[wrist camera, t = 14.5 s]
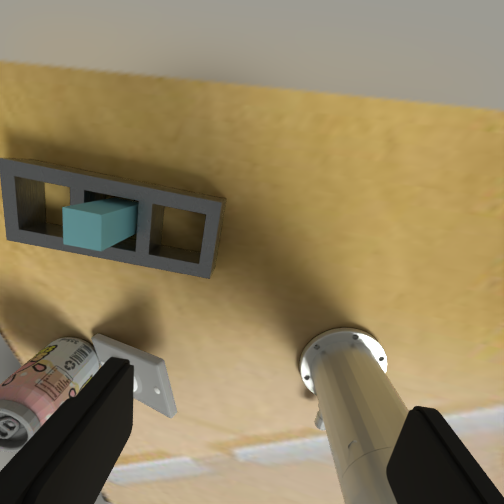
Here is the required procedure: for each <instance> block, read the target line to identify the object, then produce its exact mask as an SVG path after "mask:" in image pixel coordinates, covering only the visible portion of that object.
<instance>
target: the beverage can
mask: <svg viewBox="0 0 504 504" xmlns="http://www.w3.org/2000/svg"><path fill="white" fill-rule="evenodd" d="M99 366H100V363H99V359H98V356H97V353H96V350H95V349H94V348H93V346H92V345H91V344H89V343H88V342H86V341H84V340H82V339H79V338H73V337H64V338H59V339H57V340H55V341H53V342H51V343H50V344H49V345H47V346H46V347H45V348H44V349H42V350H41V351H40V352H39V353H38V354H36V355H35V356H34V357H33V358H32V359H30V360H29V361H28V362H27V363H26V364H24V365H23V366H22V367H21V368H20V369H18V370H17V371H16V372H15V373H14V374H12V375H11V376H10V377H9V378H8V379H6V380H5V381H4V382H3V383H1V384H0V450H1V451H6V452H17V451H19V450H20V449H21V448H22V447H23V446H24V445H25V444H26V443H27V442H28V441H29V439H30V438H31V437H32V436H33V435H34V434H35V433H36V432H37V431H38V430H39V428H40V427H41V426H42V425H43V424H44V423H45V422H46V421H47V420H48V419H49V417H50V416H51V415H52V414H53V413H54V412H55V411H56V410H57V409H58V408H59V406H60V405H61V404H62V403H63V402H64V401H66V400H67V399H68V398H70V397H75V396H76V395H77V394H78V393H79V392H80V391H81V389H82V388H83V387H84V386H85V385H86V384H87V383H88V381H89V380H90V379H91V378H92V377H93V376H94V375H95V374H96V372H97V371H98V369H99Z"/></svg>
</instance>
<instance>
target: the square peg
mask: <svg viewBox="0 0 504 504" xmlns="http://www.w3.org/2000/svg"><path fill="white" fill-rule="evenodd" d="M138 206H139V202H136V201H131V200H126V199H121V198H116V197H114V198H108V199H103V200H98V201H92V202H87V203H82V204H76V205H71V206H66V207H62V211H63V244H66V245H71V246H76V247H81V248H86V249H91V250H97V251H103V250H105V249H107V248H109V247H110V246H112V245H114V244H116V243H118V242H120V241H122V240H124V239H126V238H128V237H130V236H132V235H134V234H136V233H137V222H138Z"/></svg>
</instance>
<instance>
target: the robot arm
mask: <svg viewBox="0 0 504 504" xmlns="http://www.w3.org/2000/svg"><path fill="white" fill-rule="evenodd" d="M299 365H300V373H301V377H302V380H303V382H304V384H305V385H306V387H307V388H308V389H309V390H310V391H311V392H312V393H314V394H315V395H317V398H318V402H319V403H318V407H319V411H318V413H317V416H316V418H315V421H314V422H315V425H316V427H317V428H319V429H320V430H326V433H327V437H328V441H329V445H330V448H331V452H332V456H333V460H334V464H335V468H336V472H337V476H338V479H339V483H340V487H341V491H342V494H343V498H344V502H345V504H504V497H503V496H502V494H501V493H500V492H499V491H498V489H497V488H496V487H495V485H494V484H493V483H492V481H491V480H490V479H489V477H488V476H487V475H486V473H485V472H484V471H483V469H482V468H481V467H480V465H479V464H478V463H477V461H476V460H475V459H474V457H473V456H472V455H471V453H470V452H469V451H468V449H467V448H466V447H465V445H464V444H463V443H462V441H461V440H460V439H459V437H458V436H457V435H456V434H455V432H454V431H453V430H452V428H451V427H450V426H449V424H448V423H447V422H446V420H445V419H444V418H443V416H442V415H441V414H440V413H439V411H438V410H436V409H434V408H427V407H421V406H415V407H414V408H413V410H410V411H409V410H408V409H407V407H406V406H405V404H404V402H403V401H402V399H401V398H400V396H399V394H398V393H397V391H396V390H395V388H394V386H393V385H392V383H391V382H390V380H389V378H388V377H387V375H386V374H385V373H386V370H387V357H386V354H385V351H384V349H383V348H382V346H381V345H380V343H379V342H378V341H377V340H376V339H375V338H374V337H373V336H371V335H370V334H369V333H367V332H364V331H362V330H359V329H354V328H336V329H332V330H329V331H326V332H324V333H322V334H320V335H318V336H317V337H315V338H314V339H312V340H311V341H310V342H309V343H308V344H307V346H306V347H305V349H304V350H303V352H302V355H301V357H300V363H299ZM133 391H134V365H130V361H129V360H128V359H123V358H116V357H110V358H109V359H108V360H107V361H106V362H105V363H104V364H103V366H102V367H101V368H100V369H99V370H98V371H97V372H96V374H95V375H94V376H93V377H92V378H91V379H90V380H89V381H88V383H87V384H86V385H85V386H84V387H83V388H82V389H81V391H80V392H79V393H78V394H77V395H76V396H75V397H70V398H68V399H67V400H66V401H64V402H63V403H62V404H61V405H60V406H59V408H58V409H57V410H56V411H55V412H54V413H53V414H52V415H51V416H50V417H49V419H48V420H47V421H46V422H45V423H44V424H43V425H42V426H41V427H40V428H39V430H38V431H37V432H36V433H35V434H34V435H33V436H32V437H31V438H30V439H29V441H28V442H27V443H26V444H25V445H24V446H23V447H22V448H21V449H20V450H19V451H18V453H17V454H16V455H15V456H14V457H13V458H12V459H11V460H10V462H9V463H8V464H7V465H6V466H5V467H4V468H3V469H2V470H1V472H0V504H94V503H95V501H96V499H97V497H98V495H99V493H100V491H101V490H102V488H103V486H104V484H105V482H106V480H107V478H108V476H109V474H110V473H111V471H112V469H113V467H114V465H115V463H116V461H117V459H118V457H119V456H120V454H121V452H122V450H123V448H124V446H125V444H126V442H127V440H128V438H129V436H130V434H131V430H132V425H133Z"/></svg>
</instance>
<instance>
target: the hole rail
mask: <svg viewBox="0 0 504 504" xmlns="http://www.w3.org/2000/svg"><path fill="white" fill-rule="evenodd" d="M0 177H1V187H2V197H3V207H4V217H5V227H6V237H7V240H9V241H14V242H20V243H25V244H30V245H35V246H41V247H46V248H51V249H56V250H62V251H67V252H72V253H77V254H82V255H88V256H93V257H98V258H103V259H109V260H114V261H119V262H124V263H130V264H135V265H140V266H145V267H150V268H156V269H161V270H166V271H171V272H177V273H182V274H187V275H192V276H198V277H203V278H208V279H210V277H211V275H212V273H213V271H214V268H215V265H216V259H217V253H218V247H219V241H220V235H221V229H222V222H223V216H224V210H225V204H226V199H225V198H220V197H215V196H210V195H205V194H200V193H195V192H190V191H185V190H180V189H175V188H170V187H165V186H160V185H155V184H150V183H146V182H141V181H136V180H131V179H126V178H121V177H116V176H111V175H106V174H101V173H96V172H91V171H86V170H81V169H76V168H71V167H66V166H62V165H57V164H52V163H47V162H42V161H37V160H32V159H16V158H0ZM44 182H47V183H52V184H57V185H62V186H67V187H70V206H71V205H76V204H82V203H87V202H92V201H98V200H103V199H105V194H107V195H112V196H117V197H122V198H127V199H132V200H137V201H139V206H138V222H137V239H136V240H133V239H128V238H126V239H124V240H122V241H120V242H118V243H116V244H114V245H112V246H110V247H109V248H107V249H105V250H103V251H97V250H91V249H86V248H81V247H76V246H71V245H66V244H63V226H61V225H56V224H51V223H46V208H45V188H44ZM164 206H167V207H172V208H177V209H182V210H187V211H192V212H197V213H202V214H206V220H205V227H204V234H203V241H202V248H201V253H200V252H195V251H189V250H184V249H179V248H174V247H169V246H164V245H161V239H162V228H163V217H164Z"/></svg>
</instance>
